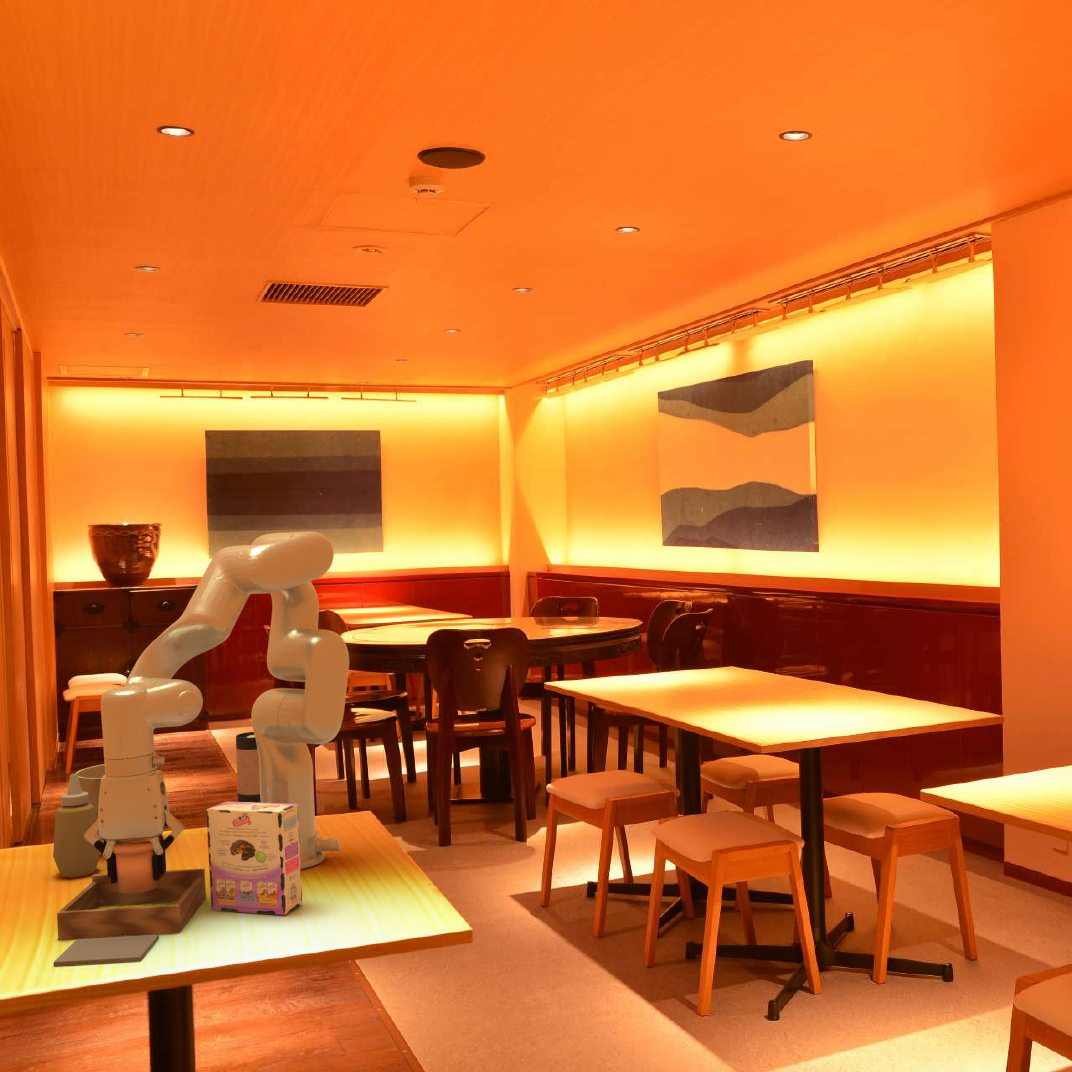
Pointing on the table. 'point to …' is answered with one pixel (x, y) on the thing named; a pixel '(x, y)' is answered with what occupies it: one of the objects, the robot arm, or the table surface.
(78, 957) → the mat
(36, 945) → the table surface
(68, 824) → the squeeze bottle
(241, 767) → the travel mug
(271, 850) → the candy box
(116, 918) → the frame
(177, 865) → the table surface
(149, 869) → the terracotta pot
